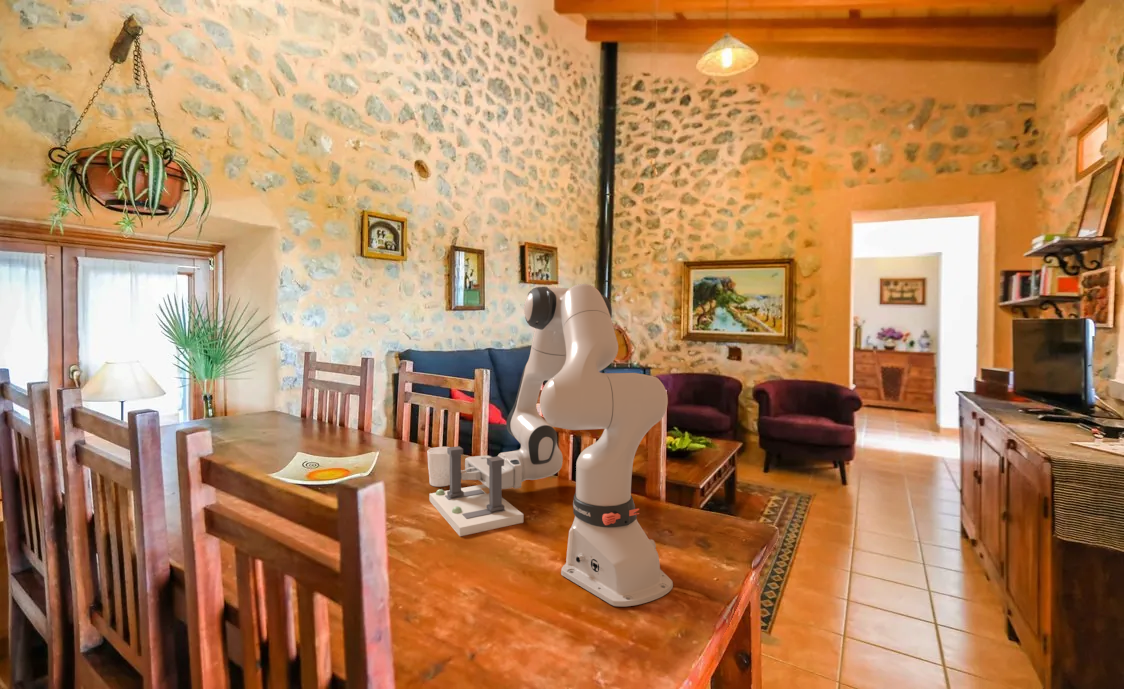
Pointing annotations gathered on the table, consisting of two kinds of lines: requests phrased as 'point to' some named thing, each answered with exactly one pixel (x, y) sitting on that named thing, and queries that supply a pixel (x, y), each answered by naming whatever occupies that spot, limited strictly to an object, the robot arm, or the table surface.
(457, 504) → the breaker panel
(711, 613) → the table surface
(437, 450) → the white cup
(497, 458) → the post
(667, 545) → the table surface
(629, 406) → the robot arm
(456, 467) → the post
